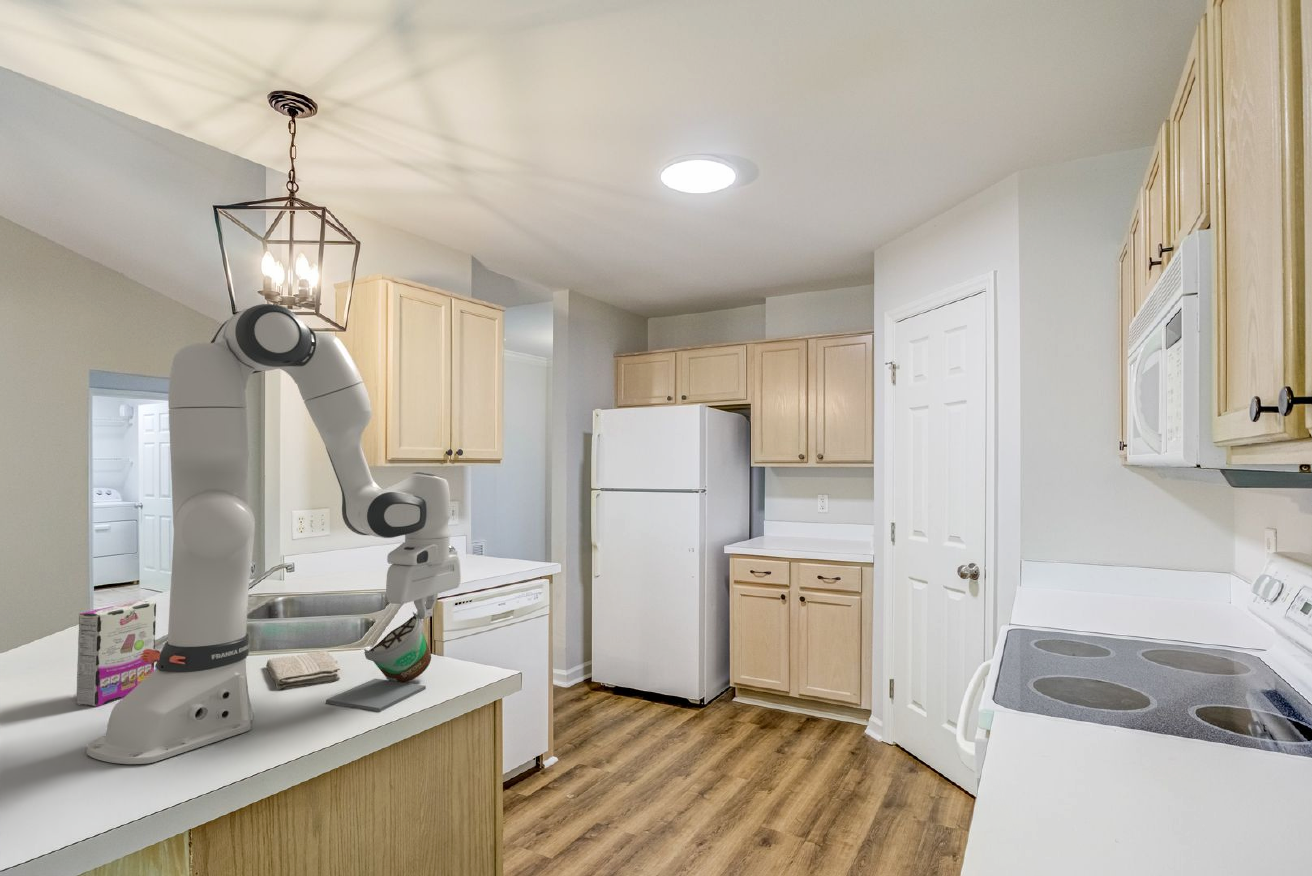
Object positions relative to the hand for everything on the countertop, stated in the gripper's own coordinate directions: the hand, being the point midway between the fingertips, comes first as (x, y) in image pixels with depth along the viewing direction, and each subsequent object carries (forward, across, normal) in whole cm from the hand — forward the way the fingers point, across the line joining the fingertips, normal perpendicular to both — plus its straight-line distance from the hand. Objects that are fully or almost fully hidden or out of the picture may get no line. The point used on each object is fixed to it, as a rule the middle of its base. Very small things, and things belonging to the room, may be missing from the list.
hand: (425, 617), depth 140 cm
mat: (+12, +12, -1) cm, 17 cm away
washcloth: (+13, +7, -24) cm, 28 cm away
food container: (+10, +2, 0) cm, 11 cm away
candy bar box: (+12, +30, -45) cm, 55 cm away
